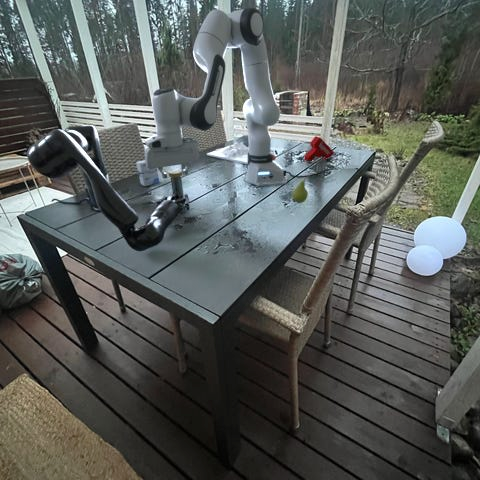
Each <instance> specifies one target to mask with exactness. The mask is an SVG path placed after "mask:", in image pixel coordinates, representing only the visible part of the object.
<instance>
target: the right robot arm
mask: <svg viewBox="0 0 480 480" xmlns="http://www.w3.org/2000/svg"><path fill="white" fill-rule="evenodd" d="M264 25H265V24H264V18H263V16H262V14H261V12H260V11H259V9H257V8H255V7H245V8H244V9H243V8H242V9H237V10H233V11H232V12H230V13H226V12H225V11H223V10H221V9H213V10H211V11H210V12H208V13H207V15H206V17H204V20H203V22H202V25H201V26H200V28H199V30H198V33H197V35H196V38H195V41H194V44H193V49H192V54H193V58H194V60H195V63H196V64H197V65H198V67H200V68H201V70H203V71H204V72H205V73H206V74H207V75H206V80H205V83H204V87H203V88H204V89H203V90H202V91H203V92H202V95H201V96H199V97H197V98H194V97H193V98H192V97H186V96H184V95H182V94H180V93H179V92H177V91H176V89H175V88H173V87H163V88H162V87H161V88H158V89H156V90H155V91H154V92H153V93H152V96H151V97H152V98H151V99H152V100H151V101H152V113H153V117H154V121H155V124H156V129H155V130H156V134H154V135H151V136H150V137H147V138H146V139H145V140H144V144H145V146H146V147H145V148H144V160H145V163H146V166H147V167H148V168H149V169H155V168H157V171H159V172H160V173H161V177H162V179H168V174H167V172H164V168H167V167H172V166H181V165H185V168H184V169H182V175H184V176H187V175H189V170H190V167H191V164H193V163H198V162H200V152H199V148H198V147H199V141H198V139H197V138H196V137H194V136H190V137H183V131H182V130H183V129H182V127H187V128H193V129H197V130H199V131H205V132H206V131H209V130H210V129H212V127H213V126H214V125H215V124H216V122H217V117H218V106H219V102H220V98H221V93H222V88H223V84H224V80H225V75H226V61H225V59H224V57H225V54H226V52H227V50H229V49H237V48H239V50H240V51H241V63H242V64H241V65H242V71H243V72H242V73H243V79H244V85H245V89H246V90H247V92H248V95H249V98H248V99H246V101H245V102H244V103H243V107H242V112H243V115H244V118H245V123H246V130H247V136H248V148H249V152H248V155H247V163H248V164H247V171H246V175H245V177H244V179H245V180H244V181H245V182H246V183H249V184H252V185H255V186H257V187H267V186H279V185H286V184H288V182H289V181H288V180H289V179H288V177H287V174H288V175H289V176H291V177H293V178H307V177H308V176H309V175H310V177H313V176H316V175H320V174H322V173H324V172H328V171H334V170H337V169H336V168H337V167H333V168H328V169H325V170H322V171H319V172H316V173H312V174H308V175H293V174H292V173H291V172H290V171H288V170H286V169H285V168H283V167H282V166H281V165H280V164H279V163H277V162H276V161H275V160H276V158H277V157H276V156H275V154H273V152H271V145H272V137H271V134H270V130H269V127H271V126H274V125H275V124H277V123H278V121H280V120H279V119H280V118H281V109H280V106H279V105H278V103H277V101H276V98H275V95H274V92H273V88H272V83H271V77H270V68H269V55H268V49H267V45H266V40H265V37H264V28H265V27H264ZM270 152H271V153H270ZM355 170H357V171H359V170H360V169H359V168H358V167H357V168H355Z"/></svg>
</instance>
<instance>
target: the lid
mask: <svg viewBox="0 0 480 480" xmlns="http://www.w3.org/2000/svg"><path fill="white" fill-rule="evenodd" d="M180 176H181V177H182V176H183V170H182V169H170V170H168V177H169V178H170V177H173V178H176V177H180Z"/></svg>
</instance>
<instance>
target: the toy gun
mask: <svg viewBox="0 0 480 480" xmlns="http://www.w3.org/2000/svg"><path fill="white" fill-rule="evenodd" d="M309 145H310V147H311V148H310V149H309V151H308V152H306V153H305V154H304V155H303V158H304V159H303V160H304V161H305V162H307V161H312V162H313V161H314V160H315V159H316V158H319V159H320V158H323V157H325V158H323V159H324V160H326V161H330V160H329V159H326V158H328V157H331V158H332V157H333V156H334V154H335V152H334V151H333V150H332V148H330V146H329V145H328V144H327V143H326V141H324V139H322V137H320V136H316V135H315V136H314V137H313V139H311V141H310V143H309ZM312 162H308V163H309V164H312Z"/></svg>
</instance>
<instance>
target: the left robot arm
mask: <svg viewBox="0 0 480 480" xmlns="http://www.w3.org/2000/svg"><path fill="white" fill-rule="evenodd" d="M100 143H101V142H100V138H99V133H98V132H97V129H96V127H95V126H94V125H92V124H86V125H72V126H71V125H70V126H68V127H66V128H65V129H64V130H62V129H59V128H54V129H52V130H51V131H49V132H48V133H47V134H45V135H44V136H42V137H41V138H40V139H39V140H37V141H35V142H34V143H33V144H32V145H31V146H29V148H28V149H27V152H26V158H27V160H28V162H29V163H28V164H29V165H30V166H31V168H32V169H33V170H35V172H36V173H38V174H39V175H41V176H43V177H45V178H47V179H51V180H59V179H62V178H64V177H66V176H67V175H68V174H69V173H71V172H72V171H74V170H75V169H76V168H77V167H79V169H80V173H81V175H82V177H83V181H84V184H85V187H84V192H85V194H86V197H85V198H83V199H80V200H79V201H78V202H77V201H76V202H73V201H71V202H70V201H63V200H61V199H58V198H52V199H51V200H50V202H54V201H56V202H59V203H61V204H67V205H79V204H81V203H82V202H84V201H86V203H87V204H88V205H89V206H90V209H91V210H94V211H95V212H101V214H102V215H103V216H104V218H106V219H107V220H108V221H109V222H110V223H112V225H114V226H115V227H116V228H117V229H118V231H119V232H120V234H121V236H122V237H123V240H125V242H126V244H127V245H128V246H129V247H130V248H131V249H132V250H134V251H136V252H144V251H146V250H149V249H151V248H154V247H155V246H158V245H159V244H161V242H162V241H163V240H164V237H165V233H166V230H167V229H168V228H169V226H171V224H173V222H174V221H175V220H176V218H177V217H178V216H179V215H180V214H179V211H180V210H182V209H183V208H185V209H186V211H189V210H191V202H190V198H189V195H188V193H184V196H183V197H182V198H179V199H177V200H174V198H173V193H172V194H171V195H169V196H163V197H161V198H159V199H158V200H156V201H155V205H156V207H155V209H154V210H153V212H152V213H151V214H150V216H148V217H147V219H146V221H145V223H144V225H143V226H140V227H138V228H137V227H136V226H135V225H136V224H137V223H138V222H139V215H138V212H136V210H134V209H133V208H132V207H131V206H130V204H129V203H128V202H126V201H125V199H123V197H121V195H120V194H119V193H118V191H116V190H115V188H114V186H112V185H111V181H110V178H109V174H108V170H107V165H106V162H105V159H104V156H103V152H102V148H101V144H100ZM88 152H92V154H91V155H88Z"/></svg>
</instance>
